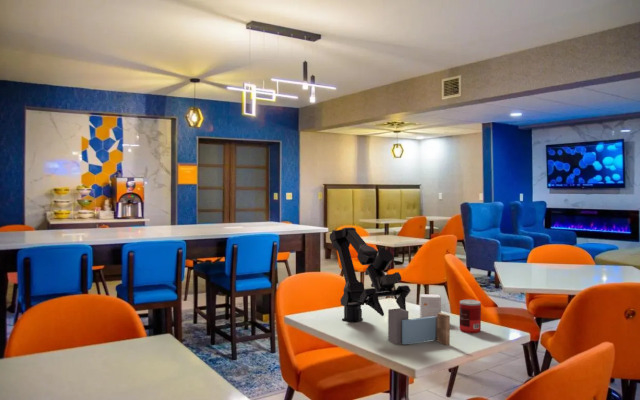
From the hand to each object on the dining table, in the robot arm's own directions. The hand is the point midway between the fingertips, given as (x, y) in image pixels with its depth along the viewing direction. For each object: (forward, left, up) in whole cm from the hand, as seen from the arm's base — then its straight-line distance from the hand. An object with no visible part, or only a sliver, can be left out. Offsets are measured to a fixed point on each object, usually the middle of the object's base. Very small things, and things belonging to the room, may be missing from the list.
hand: (394, 314), depth 175 cm
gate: (+9, +3, -9) cm, 13 cm away
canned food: (+17, +28, -9) cm, 34 cm away
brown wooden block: (+15, +7, -9) cm, 19 cm away
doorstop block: (+2, -1, -9) cm, 9 cm away
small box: (-1, +32, -9) cm, 34 cm away
